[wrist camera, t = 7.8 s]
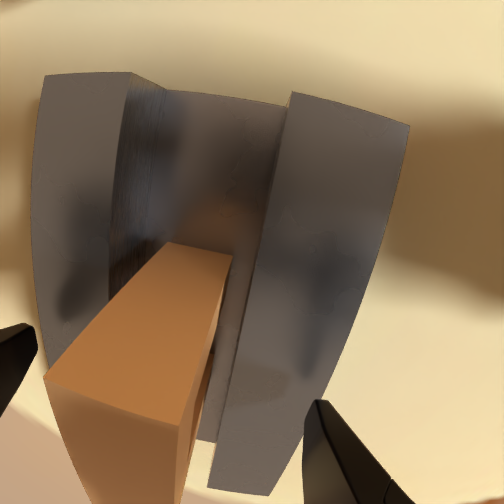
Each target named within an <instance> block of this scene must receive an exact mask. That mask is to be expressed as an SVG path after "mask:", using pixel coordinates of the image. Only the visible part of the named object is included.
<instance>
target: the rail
mask: <svg viewBox="0 0 504 504" xmlns="http://www.w3.org/2000/svg"><path fill="white" fill-rule="evenodd" d="M409 128H410V126H409V125H406V124H403V123H401V122H398V121H395V120H392V119H389V118H386V117H383V116H380V115H377V114H374V113H371V112H368V111H365V110H362V109H358V108H355V107H352V106H348V105H345V104H341V103H337V102H334V101H330V100H326V99H322V98H318V97H314V96H310V95H306V94H301V93H297V92H292V93H291V95H290V98H289V100H288V103H287V105H286V107H283V106H278V105H273V104H268V103H263V102H257V101H252V100H246V99H240V98H234V97H227V96H220V95H212V94H205V93H196V92H187V91H176V90H167V89H165V88H163V87H161V86H159V85H157V84H155V83H153V82H151V81H149V80H146V79H144V78H142V77H140V76H138V75H136V74H134V73H132V72H95V73H72V74H58V75H46V76H45V78H44V83H43V88H42V93H41V98H40V104H39V110H38V117H37V124H36V132H35V141H34V151H33V163H32V180H31V242H32V259H33V271H34V282H35V291H36V299H37V306H38V313H39V319H40V325H41V331H42V336H43V341H44V346H45V351H46V356H47V360H48V365H49V369H50V368H51V367H52V366H53V365H54V363H55V362H56V361H57V360H58V359H59V358H60V356H61V355H62V354H63V353H64V352H65V351H66V349H67V348H68V347H69V346H70V345H71V344H72V343H73V341H74V340H75V339H76V338H77V337H78V336H79V335H80V334H81V332H82V331H83V330H84V329H85V328H86V327H87V326H88V325H89V323H90V322H91V321H92V320H93V319H94V318H95V317H96V316H97V315H98V314H99V312H100V311H101V310H102V309H103V308H104V307H105V306H106V305H107V304H108V303H109V302H110V301H111V300H112V298H113V297H114V296H115V295H116V294H117V293H118V292H119V291H120V290H121V289H122V288H123V287H124V286H125V285H126V284H127V283H128V282H129V281H130V279H131V278H132V277H133V276H134V275H135V274H136V273H137V272H138V271H139V270H140V269H141V268H142V267H143V266H144V265H145V264H146V263H147V262H148V261H149V260H150V259H151V258H152V257H153V256H154V255H155V254H156V253H157V252H158V251H159V250H160V249H161V248H162V247H163V246H164V245H165V244H166V243H167V242H171V243H176V244H180V245H185V246H189V247H194V248H199V249H203V250H208V251H213V252H218V253H222V254H227V255H232V256H233V260H232V265H231V270H230V275H229V280H228V286H227V291H226V296H225V299H224V303H223V306H222V310H221V313H220V317H219V320H218V324H217V327H216V331H215V334H214V337H213V341H212V344H211V348H210V351H209V353H211V354H215V355H214V361H213V366H212V372H211V378H210V383H209V387H208V391H207V395H206V399H205V403H204V407H203V411H202V415H201V419H200V423H199V427H198V431H197V435H196V439H198V440H202V441H207V442H212V443H215V446H214V451H213V457H212V462H211V468H210V473H209V479H208V484H207V488H213V489H218V490H224V491H230V492H237V493H244V494H253V495H262V496H269V495H270V493H271V492H272V490H273V488H274V487H275V485H276V483H277V482H278V480H279V478H280V477H281V475H282V473H283V471H284V470H285V468H286V466H287V464H288V462H289V461H290V459H291V457H292V455H293V453H294V452H295V450H296V448H297V446H298V444H299V442H300V440H301V438H302V436H303V435H304V421H305V417H306V415H307V413H308V410H309V408H310V406H311V404H312V402H313V401H314V400H315V399H321V398H322V396H323V394H324V392H325V389H326V387H327V385H328V383H329V381H330V378H331V376H332V374H333V372H334V369H335V367H336V365H337V362H338V360H339V358H340V355H341V353H342V351H343V348H344V346H345V343H346V341H347V338H348V336H349V333H350V331H351V328H352V326H353V323H354V320H355V318H356V315H357V313H358V310H359V307H360V304H361V302H362V299H363V296H364V293H365V290H366V288H367V285H368V282H369V279H370V276H371V273H372V270H373V267H374V264H375V261H376V258H377V255H378V251H379V248H380V245H381V242H382V238H383V235H384V232H385V228H386V225H387V221H388V218H389V214H390V210H391V207H392V203H393V199H394V195H395V191H396V187H397V183H398V179H399V175H400V171H401V166H402V162H403V157H404V153H405V148H406V143H407V138H408V133H409Z"/></svg>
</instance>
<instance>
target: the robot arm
mask: <svg viewBox="0 0 504 504" xmlns="http://www.w3.org/2000/svg"><path fill="white" fill-rule="evenodd" d="M37 351H38V344H37V339H36V334H35V329H34V327H33V326H31V325H29V324H26V323H20V324H17V325H14V326H10V327H7V328H4V329H0V417H1V416H2V414H3V412H4V411H5V409H6V407H7V406H8V404H9V402H10V401H11V399H12V398H13V396H14V394H15V393H16V391H17V390H18V388H19V386H20V384H21V382H22V381H23V379H24V377H25V375H26V373H27V371H28V369H29V367H30V365H31V363H32V361H33V359H34V357H35V356H36V354H37ZM302 478H303V493H304V504H415V503H414V502H413V501H412V500H411V499H410V498H409V497H408V496H407V494H406V493H405V492H404V491H403V490H402V489H401V488H400V487H399V486H398V484H397V483H396V482H395V481H394V480H393V479H391V476H390V475H389V474H388V473H387V472H386V470H385V469H384V468H383V467H382V466H381V464H380V463H379V462H378V461H377V460H376V458H375V457H374V456H373V455H372V454H371V452H370V451H369V450H368V449H367V448H366V446H365V445H364V444H363V443H362V442H361V440H360V439H359V438H358V437H357V435H356V434H355V433H354V432H353V431H352V429H351V428H350V427H349V426H348V424H347V423H346V422H345V421H344V419H343V418H342V417H341V416H340V415H339V413H338V412H337V411H336V410H335V408H334V407H333V406H332V405H331V403H330V402H329V401H328V400H321V399H315V400H314V401H313V402H312V404H311V406H310V408H309V410H308V413H307V415H306V417H305V421H304V436H303V453H302Z"/></svg>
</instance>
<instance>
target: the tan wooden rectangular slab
mask: <svg viewBox="0 0 504 504" xmlns="http://www.w3.org/2000/svg"><path fill="white" fill-rule="evenodd" d="M232 260H233V256H232V255H227V254H222V253H218V252H213V251H208V250H203V249H199V248H194V247H189V246H185V245H180V244H176V243H171V242H167V243H166V244H165V245H164V246H163V247H162V248H161V249H160V250H159V251H158V252H157V253H156V254H155V255H154V256H153V257H152V258H151V259H150V260H149V261H148V262H147V263H146V264H145V265H144V266H143V267H142V268H141V269H140V270H139V271H138V272H137V273H136V274H135V275H134V276H133V277H132V278H131V279H130V281H129V282H128V283H127V284H126V285H125V286H124V287H123V288H122V289H121V290H120V291H119V292H118V293H117V294H116V295H115V296H114V297H113V298H112V300H111V301H110V302H109V303H108V304H107V305H106V306H105V307H104V308H103V309H102V310H101V311H100V312H99V314H98V315H97V316H96V317H95V318H94V319H93V320H92V321H91V322H90V323H89V325H88V326H87V327H86V328H85V329H84V330H83V331H82V332H81V334H80V335H79V336H78V337H77V338H76V339H75V340H74V341H73V343H72V344H71V345H70V346H69V347H68V348H67V349H66V351H65V352H64V353H63V354H62V355H61V356H60V358H59V359H58V360H57V361H56V362H55V363H54V365H53V366H52V367H51V368H50V369H49V371H48V372H47V373H46V374H45V375H44V377H43V380H44V383H45V387H46V390H47V394H48V397H49V400H50V404H51V407H52V410H53V413H54V416H55V419H56V422H57V425H58V427H59V430H60V433H61V436H62V438H63V441H64V443H65V446H66V448H67V451H68V453H69V456H70V458H71V460H72V463H73V465H74V467H75V469H76V471H77V474H78V476H79V478H80V480H81V482H82V485H83V487H84V489H85V491H86V493H87V495H88V497H89V498H90V501H91V502H92V504H180V502H181V497H182V493H183V489H184V485H185V481H186V477H187V473H188V468H189V464H190V460H191V456H192V452H193V448H194V444H195V440H196V435H197V431H198V427H199V423H200V419H201V415H202V411H203V407H204V403H205V399H206V395H207V391H208V387H209V383H210V378H211V372H212V366H213V361H214V355H215V354H211V353H209V351H210V348H211V344H212V341H213V337H214V334H215V331H216V327H217V324H218V320H219V317H220V313H221V310H222V306H223V303H224V299H225V296H226V291H227V286H228V280H229V275H230V270H231V265H232Z"/></svg>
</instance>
